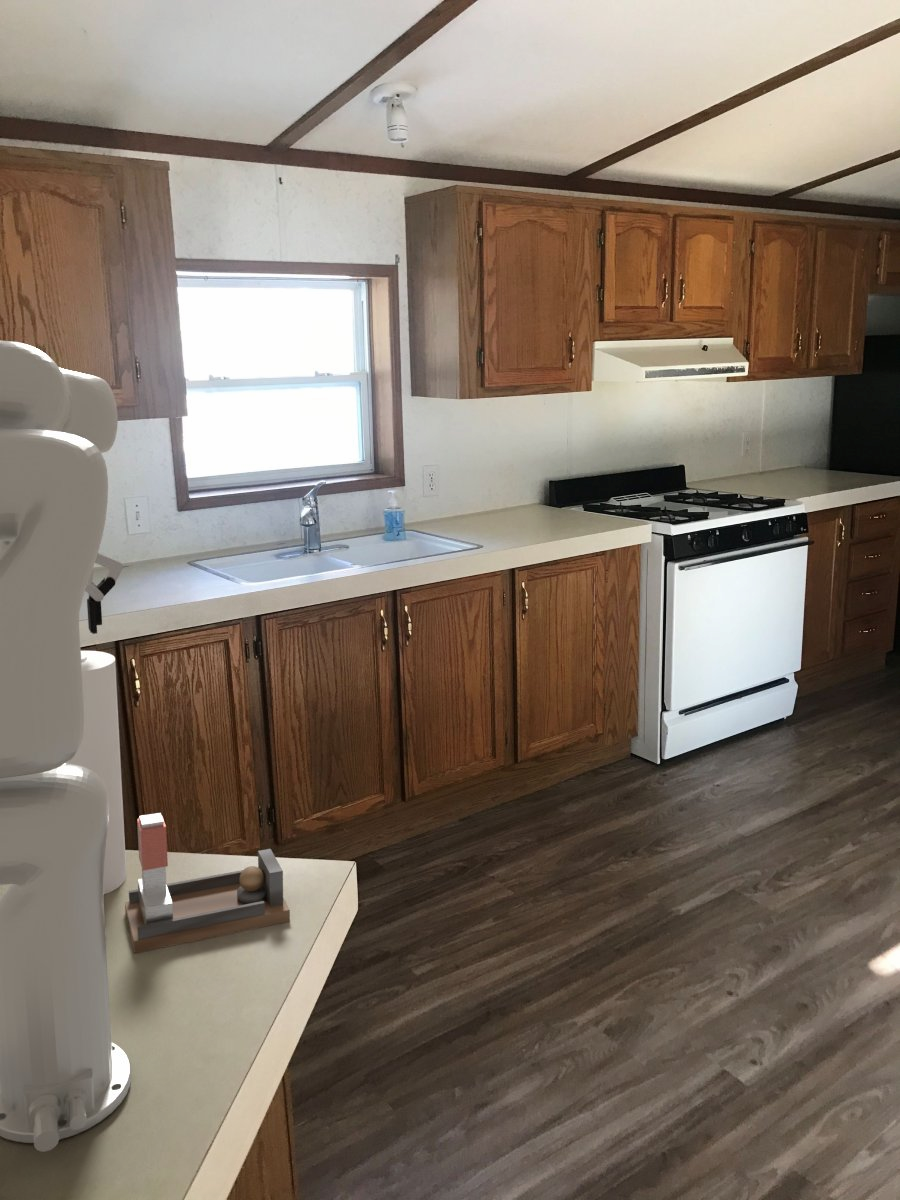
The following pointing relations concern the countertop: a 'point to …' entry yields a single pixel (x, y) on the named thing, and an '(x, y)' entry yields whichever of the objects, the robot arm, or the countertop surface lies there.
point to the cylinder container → (104, 754)
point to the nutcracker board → (214, 906)
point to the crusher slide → (153, 869)
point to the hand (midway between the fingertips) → (50, 634)
